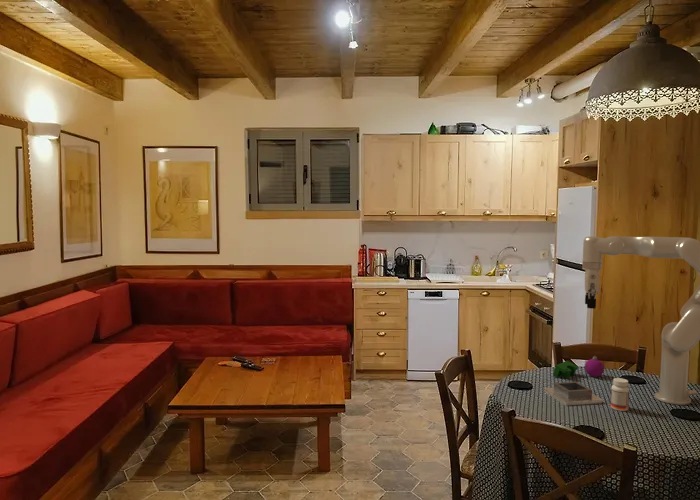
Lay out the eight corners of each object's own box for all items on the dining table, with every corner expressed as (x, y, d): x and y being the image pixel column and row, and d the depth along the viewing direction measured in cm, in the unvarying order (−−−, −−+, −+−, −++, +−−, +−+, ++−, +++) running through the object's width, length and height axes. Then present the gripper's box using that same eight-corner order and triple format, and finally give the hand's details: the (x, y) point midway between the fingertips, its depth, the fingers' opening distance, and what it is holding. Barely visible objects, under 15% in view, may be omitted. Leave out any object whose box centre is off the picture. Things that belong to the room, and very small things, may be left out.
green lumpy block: (564, 388, 240) (566, 373, 235) (552, 381, 244) (553, 367, 240) (578, 373, 246) (580, 359, 242) (566, 367, 250) (567, 353, 246)
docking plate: (578, 389, 225) (578, 379, 225) (602, 403, 210) (602, 392, 209) (543, 391, 223) (544, 381, 222) (565, 405, 207) (566, 394, 207)
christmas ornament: (584, 372, 249) (585, 351, 248) (603, 374, 245) (604, 353, 245) (584, 377, 241) (585, 356, 240) (604, 380, 238) (605, 358, 237)
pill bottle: (617, 404, 208) (619, 376, 208) (631, 409, 203) (633, 381, 202) (606, 407, 206) (608, 378, 205) (621, 412, 200) (622, 383, 199)
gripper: (604, 268, 212) (602, 310, 214) (599, 264, 229) (597, 303, 230) (584, 267, 215) (582, 309, 216) (580, 263, 231) (578, 302, 232)
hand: (590, 306), depth 223 cm, fingers open, 9 cm apart
